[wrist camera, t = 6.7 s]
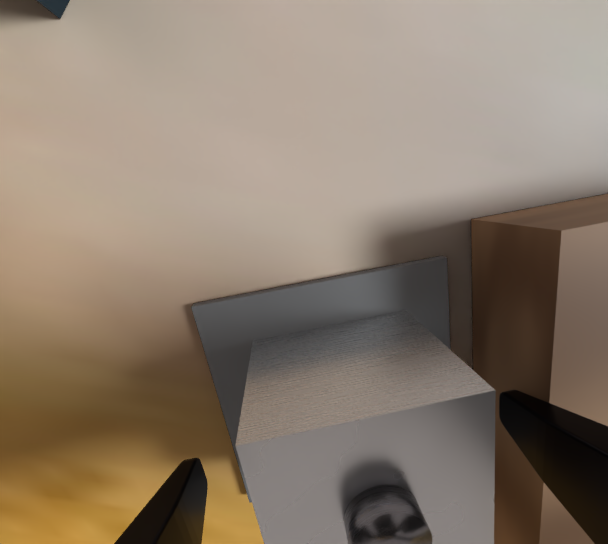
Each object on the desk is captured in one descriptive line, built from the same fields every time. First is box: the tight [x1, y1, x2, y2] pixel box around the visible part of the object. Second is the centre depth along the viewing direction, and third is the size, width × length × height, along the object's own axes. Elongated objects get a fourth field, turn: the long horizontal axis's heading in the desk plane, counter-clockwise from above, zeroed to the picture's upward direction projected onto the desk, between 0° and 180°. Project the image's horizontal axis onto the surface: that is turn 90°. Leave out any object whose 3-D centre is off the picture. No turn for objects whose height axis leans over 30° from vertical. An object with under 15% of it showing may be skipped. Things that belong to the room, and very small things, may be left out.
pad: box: [191, 256, 451, 502], centre depth 10 cm, size 8×8×1 cm
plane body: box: [471, 194, 608, 544], centre depth 10 cm, size 20×7×3 cm, turn 10°
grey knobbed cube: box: [236, 310, 496, 544], centre depth 8 cm, size 5×5×5 cm
